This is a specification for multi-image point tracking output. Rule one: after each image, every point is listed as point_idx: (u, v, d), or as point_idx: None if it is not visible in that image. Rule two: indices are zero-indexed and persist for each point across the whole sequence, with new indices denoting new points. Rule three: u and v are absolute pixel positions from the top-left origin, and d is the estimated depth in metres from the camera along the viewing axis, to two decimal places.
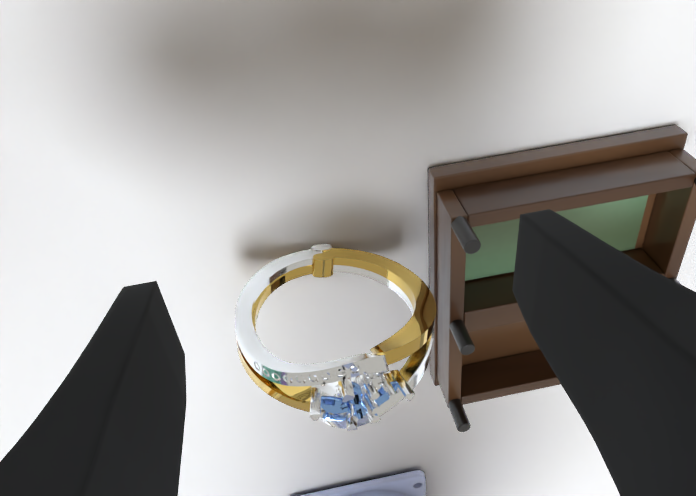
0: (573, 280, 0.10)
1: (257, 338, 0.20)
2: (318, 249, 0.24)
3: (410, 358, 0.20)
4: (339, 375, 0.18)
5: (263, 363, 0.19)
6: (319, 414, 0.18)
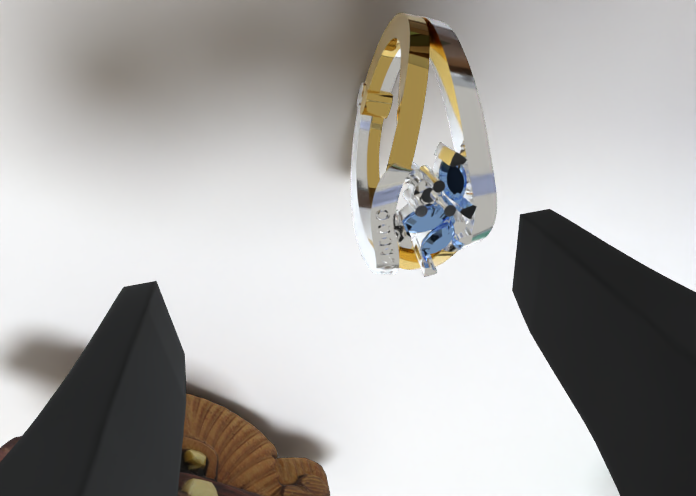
0: (573, 280, 0.10)
1: (370, 246, 0.18)
2: (359, 99, 0.20)
3: (446, 109, 0.14)
4: (387, 230, 0.14)
5: (374, 271, 0.16)
6: (426, 268, 0.14)
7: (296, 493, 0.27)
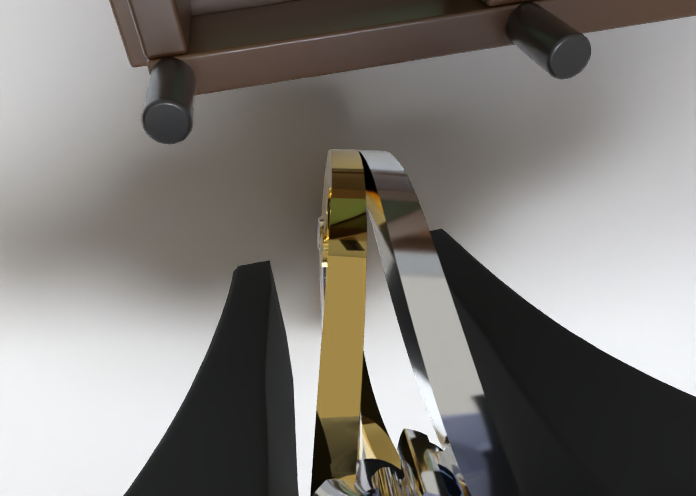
0: None
1: None
2: (318, 240, 0.13)
3: (410, 361, 0.08)
4: None
5: None
6: None
7: None
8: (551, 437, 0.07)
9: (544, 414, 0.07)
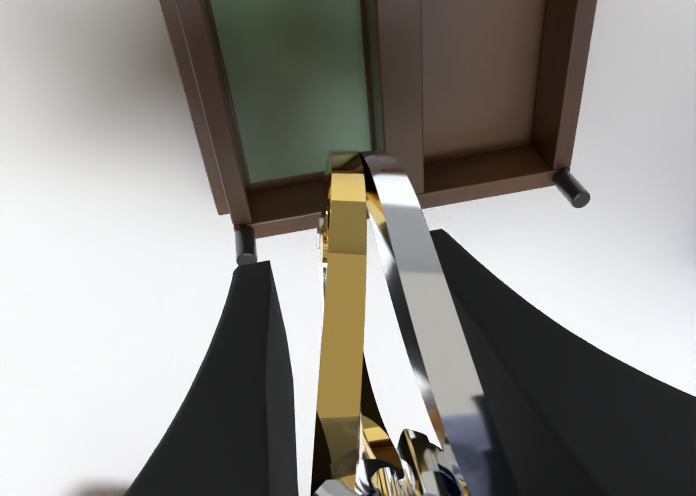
0: None
1: None
2: (318, 240, 0.13)
3: (410, 361, 0.08)
4: None
5: None
6: None
7: None
8: (550, 436, 0.07)
9: (544, 414, 0.07)
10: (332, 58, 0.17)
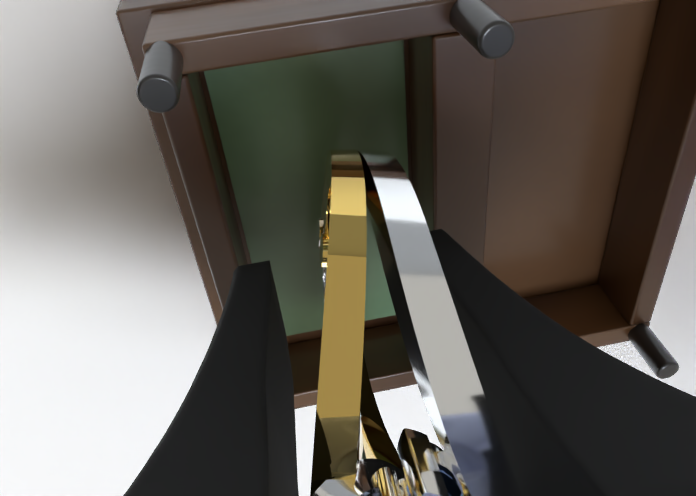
0: None
1: None
2: (318, 240, 0.13)
3: (410, 361, 0.08)
4: None
5: None
6: None
7: None
8: (550, 437, 0.07)
9: (544, 415, 0.07)
10: None
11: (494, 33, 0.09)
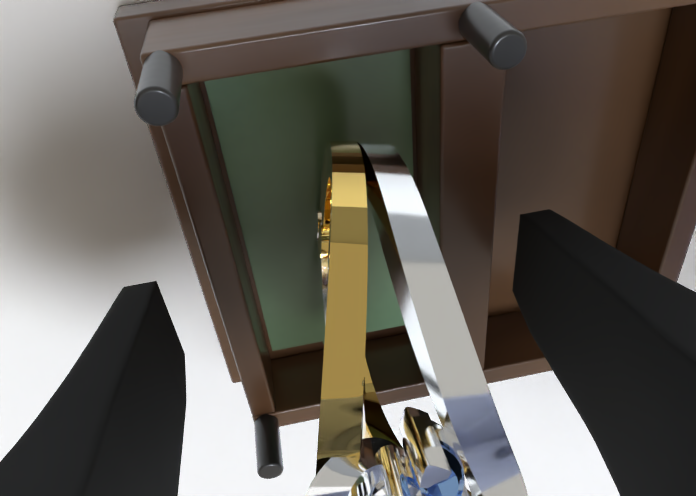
0: (573, 280, 0.10)
1: None
2: (316, 232, 0.14)
3: (411, 341, 0.08)
4: None
5: None
6: None
7: None
8: None
9: None
10: None
11: (506, 43, 0.09)
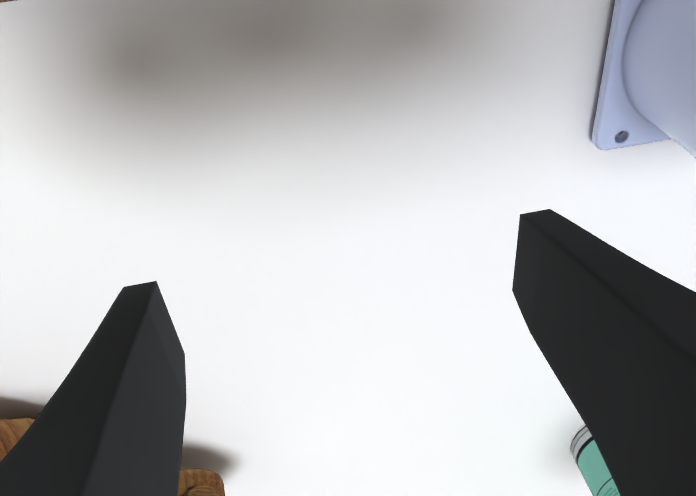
0: (573, 280, 0.10)
1: None
2: None
3: None
4: None
5: None
6: None
7: None
8: None
9: None
10: None
11: None
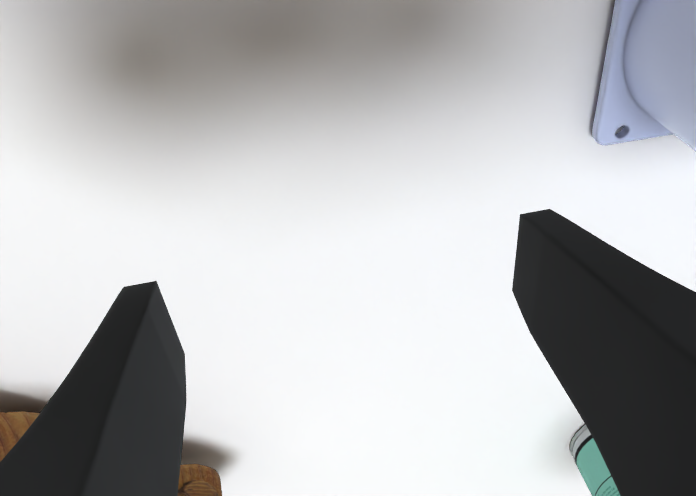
0: (573, 280, 0.10)
1: None
2: None
3: None
4: None
5: None
6: None
7: None
8: None
9: None
10: None
11: None
